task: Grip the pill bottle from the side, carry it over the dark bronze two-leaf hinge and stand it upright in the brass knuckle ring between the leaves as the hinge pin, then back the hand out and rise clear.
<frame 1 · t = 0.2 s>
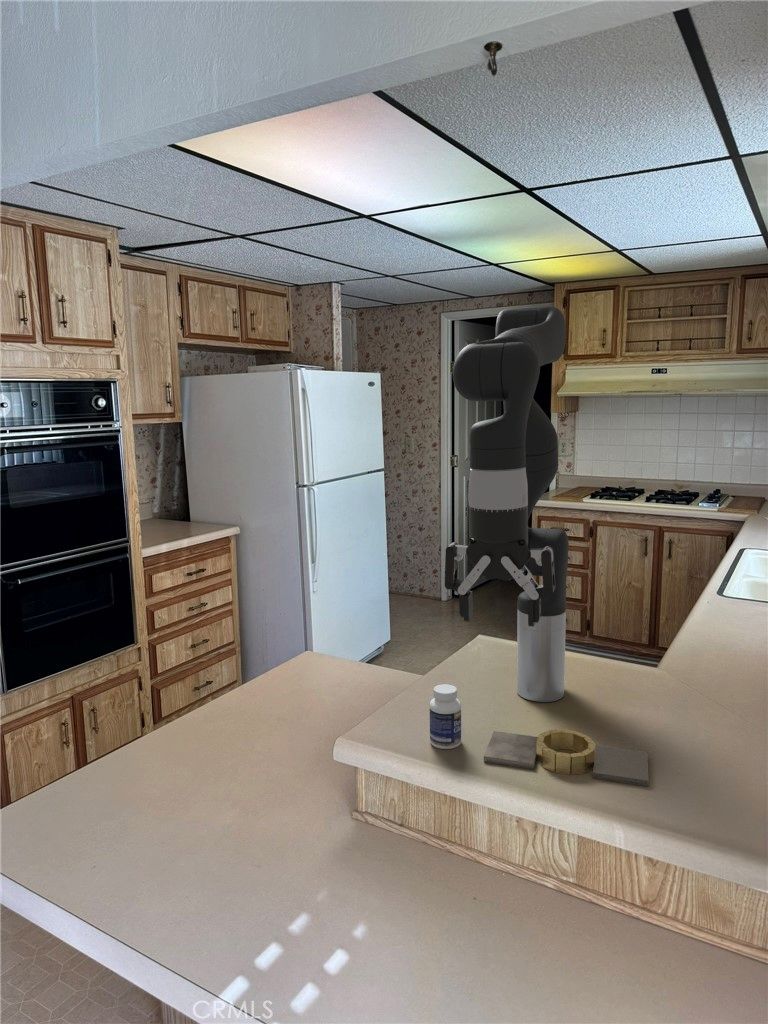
hand: (499, 622, 92), 29 cm above the counter, tool pointing down, fingers open, 8 cm apart
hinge: (565, 759, 113), on the counter
pill bottle: (445, 743, 119), on the counter
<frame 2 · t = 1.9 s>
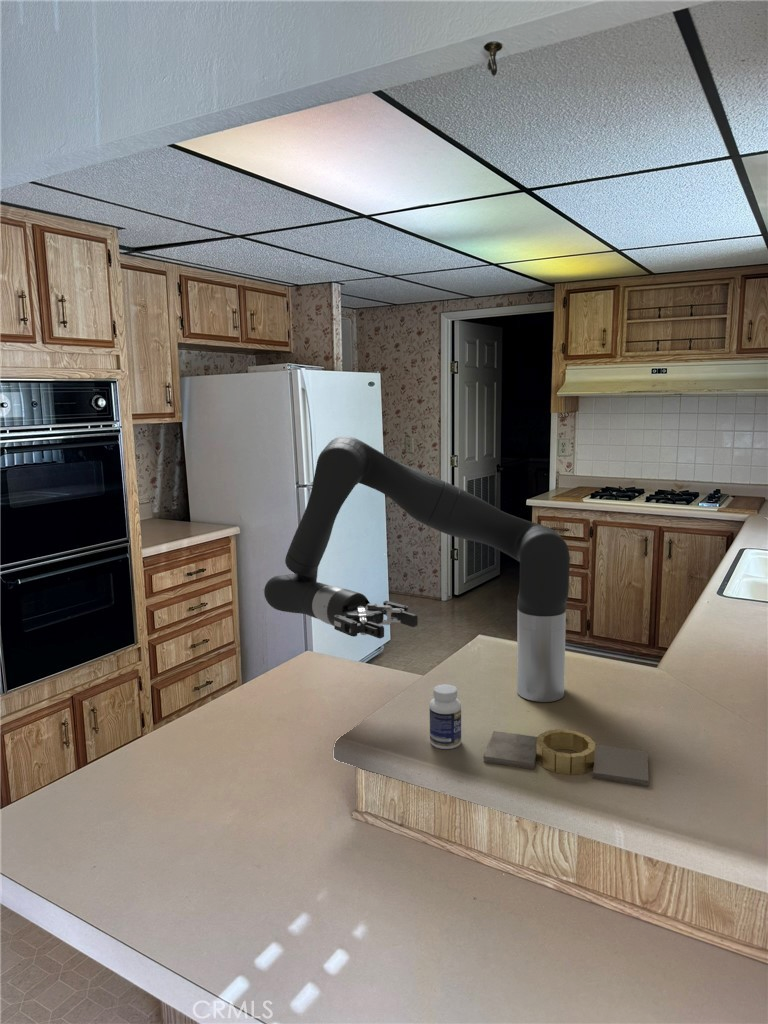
hand: (400, 626, 124), 18 cm above the counter, tool horizontal, fingers open, 8 cm apart
nothing on the counter moved.
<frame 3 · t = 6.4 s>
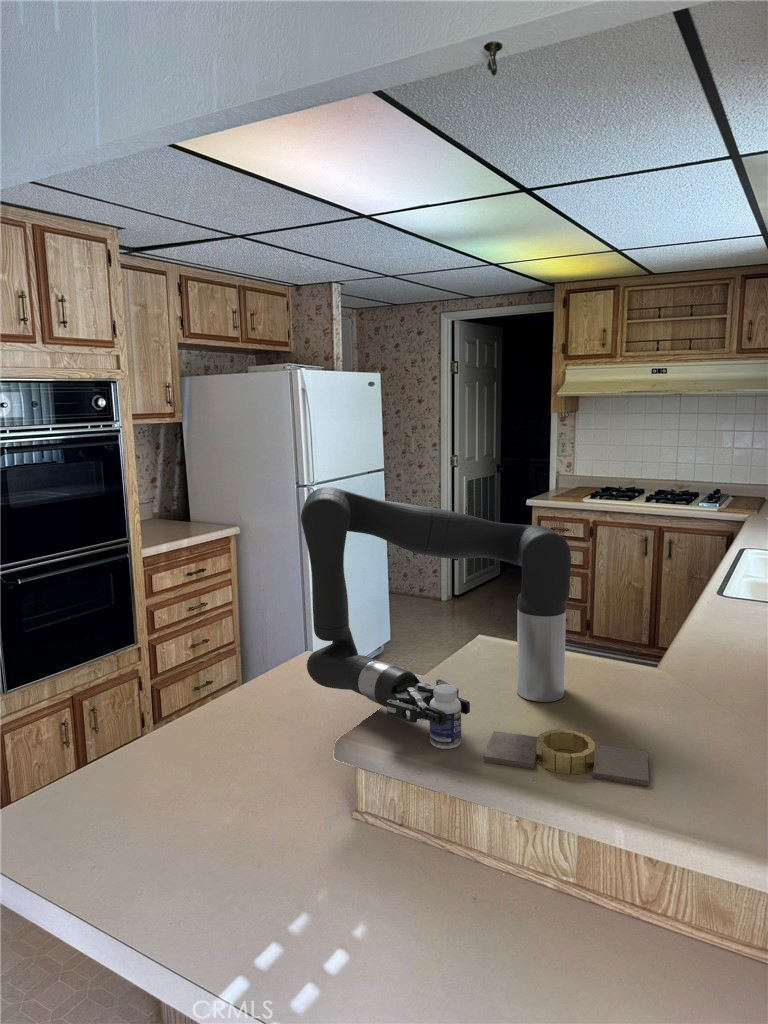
hand: (456, 713, 116), 6 cm above the counter, tool horizontal, fingers closed on pill bottle, 5 cm apart
pill bottle: (445, 743, 119), on the counter, touching gripper
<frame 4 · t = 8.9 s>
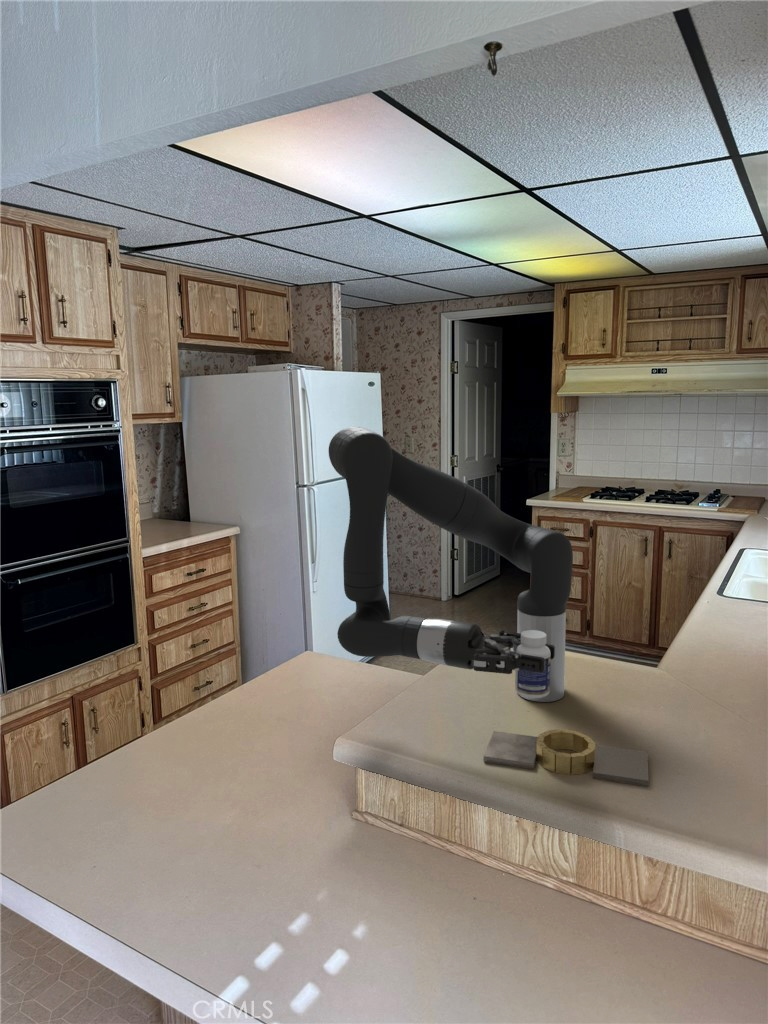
hand: (549, 658, 109), 18 cm above the counter, tool horizontal, fingers closed on pill bottle, 5 cm apart
pill bottle: (532, 693, 111), point 11 cm above the counter, touching gripper
when the fingers open (8 cm above the counter, at t = 11.7 s): pill bottle drops 2 cm, resting in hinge.
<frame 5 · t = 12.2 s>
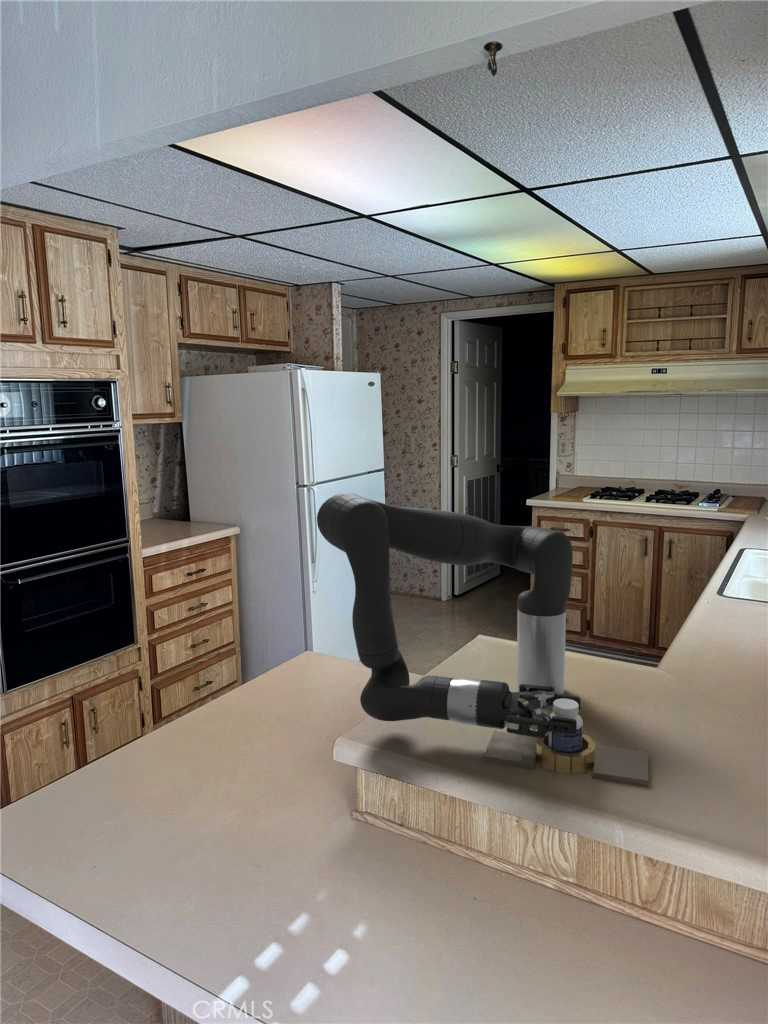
hand: (578, 714, 111), 8 cm above the counter, tool horizontal, fingers open, 8 cm apart
pill bottle: (564, 761, 113), resting in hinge
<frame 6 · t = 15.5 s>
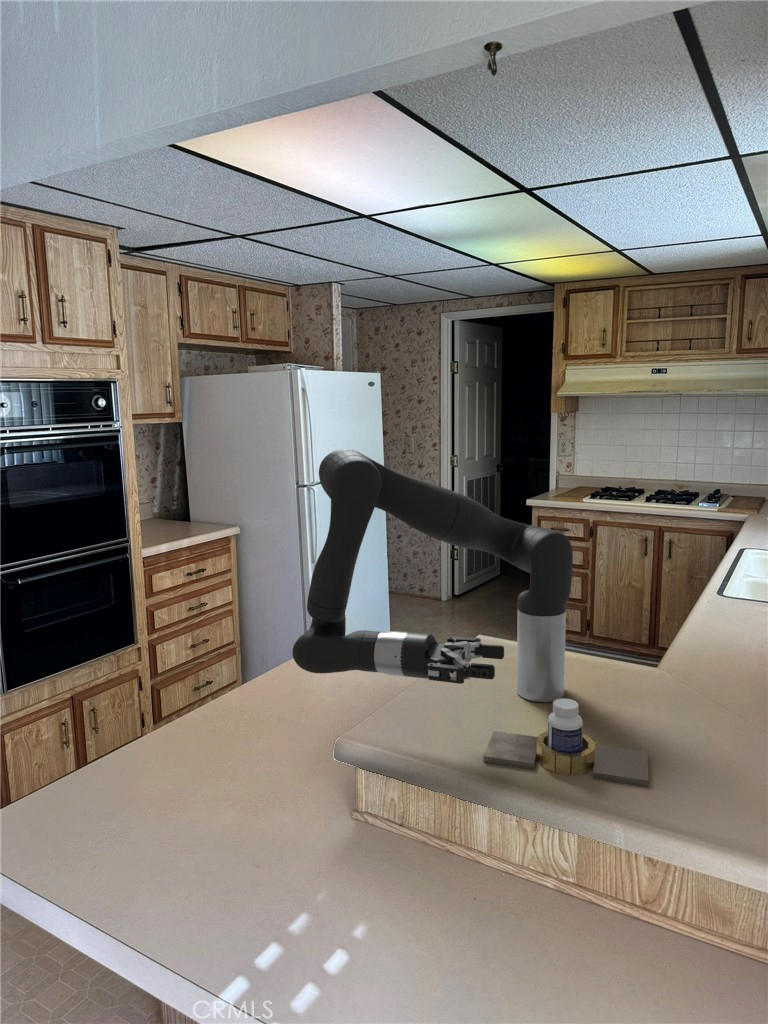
hand: (499, 662, 114), 15 cm above the counter, tool horizontal, fingers open, 8 cm apart
nothing on the counter moved.
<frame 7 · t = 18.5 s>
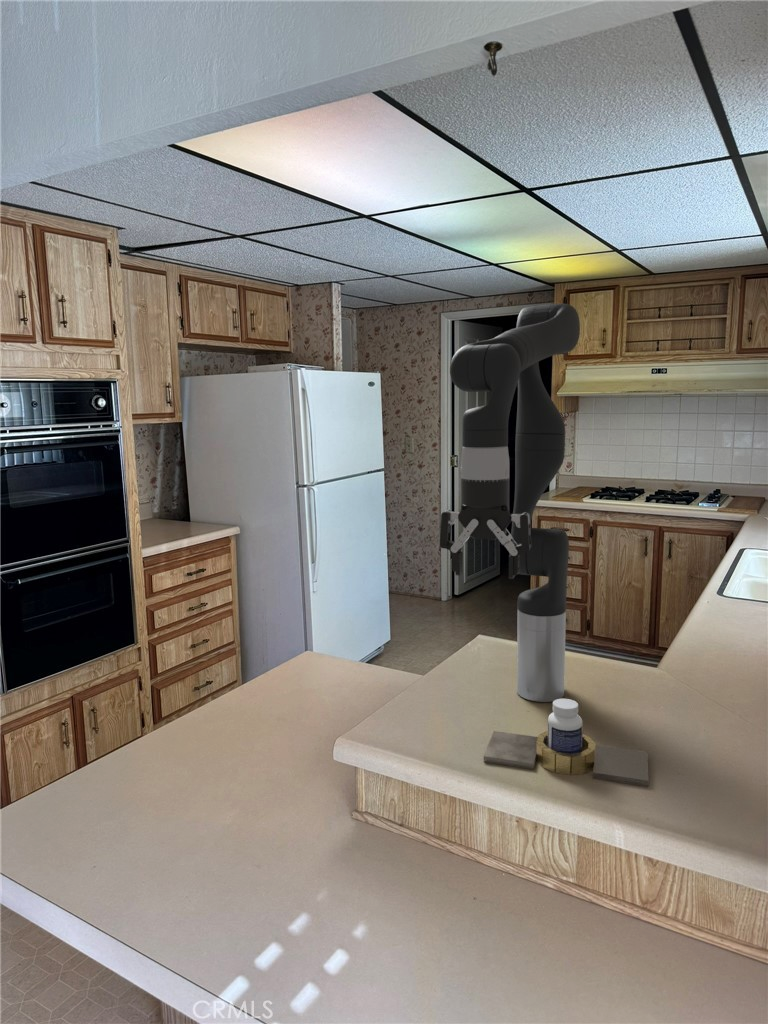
hand: (485, 576, 111), 30 cm above the counter, tool pointing down, fingers open, 8 cm apart
nothing on the counter moved.
at the end: pill bottle 0.1 cm off-centre on the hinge, point 0.0 cm above the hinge's base; pill bottle tilted 0°; the gripper is holding nothing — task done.
